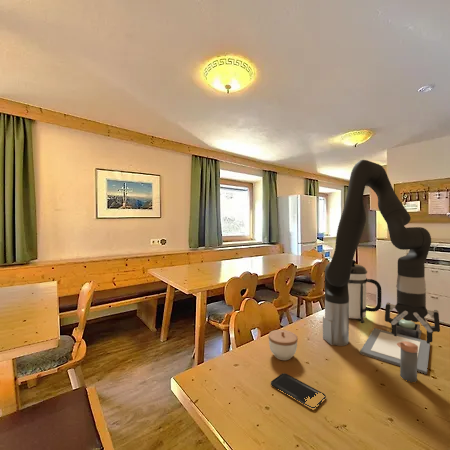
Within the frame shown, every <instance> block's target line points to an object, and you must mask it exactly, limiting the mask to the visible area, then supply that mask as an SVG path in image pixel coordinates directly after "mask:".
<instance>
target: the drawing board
mask: <svg viewBox="0 0 450 450" xmlns="http://www.w3.org/2000/svg"><path fill="white" fill-rule="evenodd" d="M402 341H407V342H411V343H414V344H416V345H417V346H418V352H417V371H418V372H417V373H420V372H421V374H423V373H424V374H423V375H426V374H428V369H427V368H428V367H429V357H430V347H431V343H430V344H428V343H427V340H425V339H421V338H420V339H417V338H413V337H408V336H404V335H400V334H397V336H394V334H392V331H387V330H382V329H380V328H375V327H373V329H372V331H371V333H370V334H369V336H368V338H367V339H366V340H365V342H364V344H363V345H362V347H361V349H360V351H359V354H360V355H363V356H366V357H369V358H372V359H376V360H378V359H379V361H382V362H384V363H385V362H386V363H388V364H391V365H395V366H398V367H400V359H401V348H400V342H402Z"/></svg>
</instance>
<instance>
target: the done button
mask: <svg viewBox="0 0 450 450" xmlns="http://www.w3.org/2000/svg"><path fill="white" fill-rule="evenodd" d="M415 324H416V322H413V321H407V320H405V319H403V318H402V319H401V320H400V321H399V326H400V327H404V328H409V329H413V330H414V329H415Z"/></svg>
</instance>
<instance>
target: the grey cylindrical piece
mask: <svg viewBox="0 0 450 450" xmlns="http://www.w3.org/2000/svg"><path fill="white" fill-rule="evenodd" d="M400 348H401V359H400V366H399V369H400V370H399V371H400V373H399V377H400V376H401V377H402V378H403V379H405V380H407V381H406V382H408V381H410V382H409V383H412V382H415V383H417V382H418V372H417V352H418V346H417V345H416V344H414V343H411V342H407V341H402V342H400ZM401 377H400V378H401ZM402 378H401V379H402ZM403 379H402V380H403ZM405 380H404V381H405ZM416 381H417V382H416Z"/></svg>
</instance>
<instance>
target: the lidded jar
mask: <svg viewBox="0 0 450 450" xmlns="http://www.w3.org/2000/svg"><path fill="white" fill-rule="evenodd" d="M298 339H299V338H298V336H297V334H296V333H294V332H293V331H291V330H286V329H275V330H272V331H270V332H269V333H268V345H269V349H270V352H271V353H272V354H273V355H274V357H275V358H276V359H277V360H279V361H288V360H292V359H291V358H293V357H294V355H295V354H296V352H297V348H298Z"/></svg>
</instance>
